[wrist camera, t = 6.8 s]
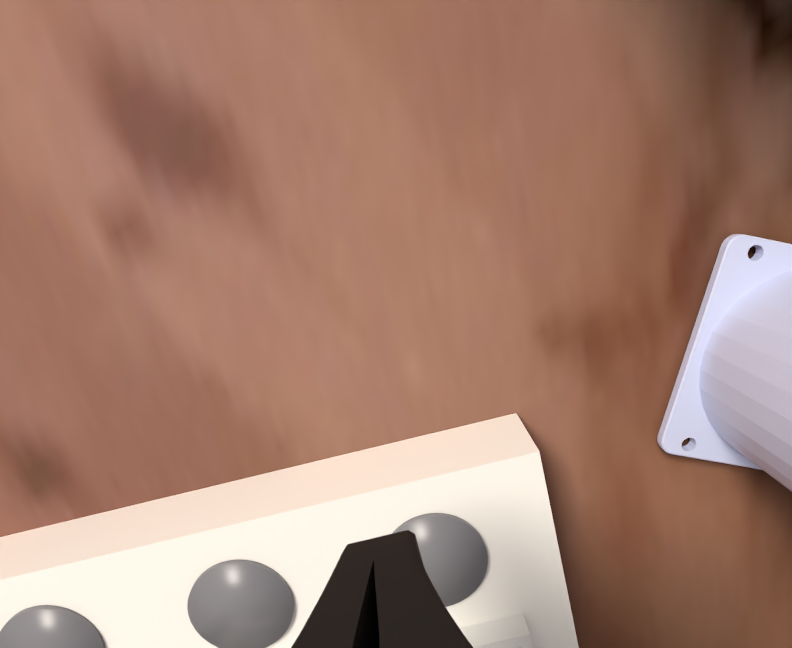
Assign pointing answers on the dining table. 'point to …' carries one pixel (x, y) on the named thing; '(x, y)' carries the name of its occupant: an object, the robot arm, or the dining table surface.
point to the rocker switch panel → (300, 551)
